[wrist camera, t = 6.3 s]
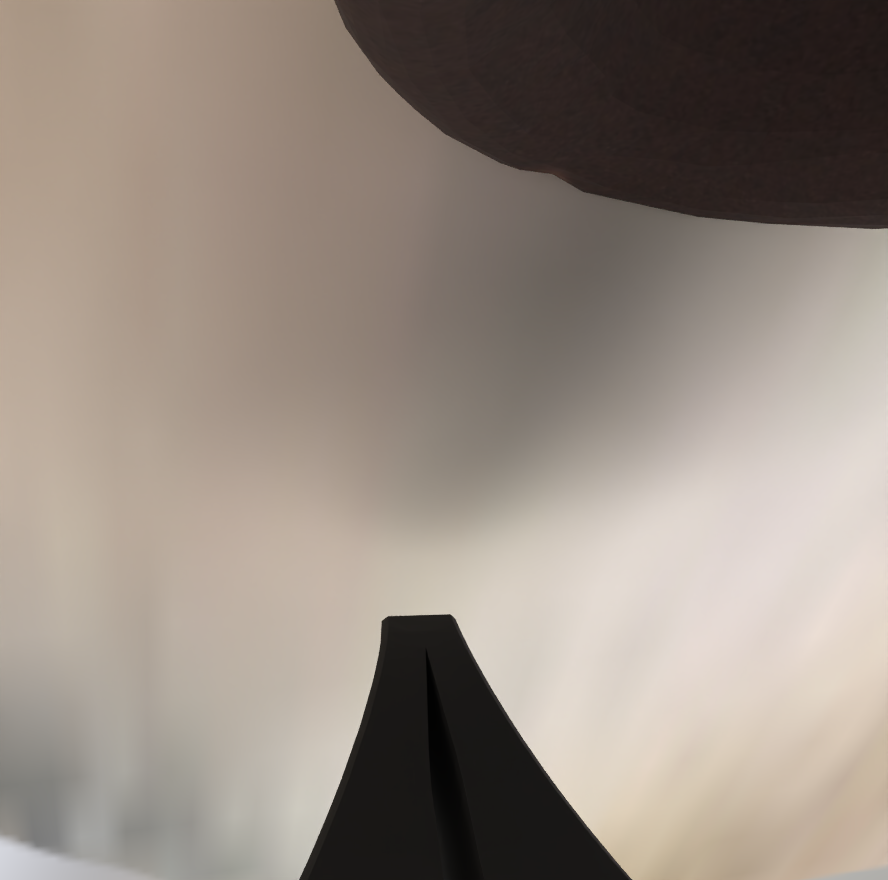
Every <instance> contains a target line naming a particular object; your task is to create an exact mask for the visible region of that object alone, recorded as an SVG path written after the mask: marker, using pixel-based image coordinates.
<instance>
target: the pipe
mask: <svg viewBox="0 0 888 880" xmlns="http://www.w3.org/2000/svg"><path fill="white" fill-rule="evenodd" d="M335 3H336V5H337V8H338V10H339V13H340V15H341V17H342V20H343V22H344V25H345V27H346V29H347V30H348V32H349V33H350V34H351V36H352V37H353V39H354V40H355V41H356V43H357V44H358V46H359V47H360V48H361V50H362V51H363V53H364V54H365V55H366V57H367V58H368V59H369V61H370V62H371V64H372V65H373V66H374V68H375V69H376V71H377V72H378V73H379V74H380V75H381V76H382V77H383V78H384V79H385V81H386V82H387V83H388V84H389V85H390V86H391V87H392V88H393V89H394V90H395V91H396V92H397V93H398V94H399V95H400V96H401V97H402V98H404V99H405V100H406V101H407V102H408V103H409V104H410V105H411V106H412V107H413V108H414V109H415V110H417V111H418V112H419V113H420V114H421V115H423V116H424V117H425V118H426V119H428V120H429V121H430V122H431V123H432V124H434V125H435V126H436V127H437V128H439V129H440V130H441V131H442V132H443V133H445V134H446V135H448V136H450V137H452V138H454V139H456V140H458V141H459V142H461V143H463V144H465V145H467V146H469V147H471V148H473V149H475V150H477V151H479V152H481V153H482V154H484V155H486V156H488V157H490V158H492V159H494V160H496V161H498V162H500V163H502V164H505V165H508V166H511V167H514V168H517V169H519V170H527V171H534V172H541V173H549V174H554V175H555V176H557V177H559V178H560V179H562V180H564V181H566V182H567V183H569V184H571V185H573V186H574V187H576V188H578V189H580V190H581V191H583V192H586V193H591V194H596V195H600V196H605V197H609V198H614V199H619V200H623V201H628V202H632V203H637V204H642V205H646V206H651V207H655V208H660V209H665V210H669V211H674V212H678V213H683V214H688V215H692V216H697V217H706V218H716V219H726V220H737V221H747V222H757V223H767V224H787V225H807V226H827V227H847V228H866V229H881V228H888V0H335Z"/></svg>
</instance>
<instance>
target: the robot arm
mask: <svg viewBox="0 0 888 880" xmlns="http://www.w3.org/2000/svg"><path fill="white" fill-rule="evenodd" d="M299 880H632V879H631V878H630V877H629V876H628V875H627V873H626V872H625V871H624V870H623V869H622V868H621V867H620V865H619V864H618V863H617V862H616V861H615V860H614V858H613V857H612V856H611V855H610V853H609V852H608V851H607V850H606V849H605V847H604V846H603V845H602V844H601V843H600V841H599V840H598V839H597V838H596V837H595V835H594V834H593V833H592V832H591V830H590V829H589V828H588V827H587V826H586V824H585V823H584V822H583V820H582V819H581V818H580V817H579V815H578V814H577V813H576V811H575V810H574V809H573V808H572V806H571V805H570V804H569V802H568V801H567V800H566V799H565V797H564V796H563V795H562V793H561V792H560V791H559V789H558V788H557V787H556V785H555V784H554V783H553V781H552V780H551V778H550V777H549V776H548V774H547V773H546V771H545V770H544V769H543V767H542V766H541V764H540V763H539V761H538V760H537V759H536V757H535V756H534V754H533V753H532V751H531V750H530V748H529V747H528V746H527V744H526V743H525V741H524V740H523V738H522V737H521V735H520V734H519V732H518V731H517V729H516V727H515V726H514V724H513V723H512V721H511V720H510V718H509V716H508V715H507V713H506V712H505V710H504V708H503V707H502V705H501V703H500V702H499V700H498V699H497V697H496V695H495V694H494V692H493V690H492V689H491V687H490V685H489V684H488V682H487V680H486V678H485V677H484V675H483V673H482V671H481V670H480V668H479V666H478V664H477V662H476V660H475V659H474V657H473V655H472V653H471V651H470V649H469V647H468V645H467V643H466V641H465V639H464V637H463V635H462V633H461V631H460V629H459V626H458V624H457V622H456V620H455V618H454V617H453V616H452V615H450V614H448V615H416V616H388V617H387V618H385V619H384V620H383V621H382V627H381V644H380V650H379V656H378V661H377V666H376V670H375V675H374V679H373V683H372V687H371V690H370V694H369V697H368V701H367V704H366V708H365V711H364V715H363V718H362V721H361V725H360V728H359V731H358V734H357V737H356V739H355V742H354V745H353V748H352V751H351V754H350V757H349V759H348V762H347V765H346V768H345V771H344V774H343V776H342V779H341V782H340V784H339V787H338V789H337V792H336V795H335V797H334V800H333V802H332V805H331V807H330V810H329V812H328V815H327V817H326V820H325V822H324V824H323V827H322V829H321V832H320V834H319V836H318V839H317V841H316V843H315V846H314V848H313V850H312V853H311V855H310V857H309V860H308V862H307V864H306V866H305V868H304V871H303V873H302V875H301V877H300V879H299Z"/></svg>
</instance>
